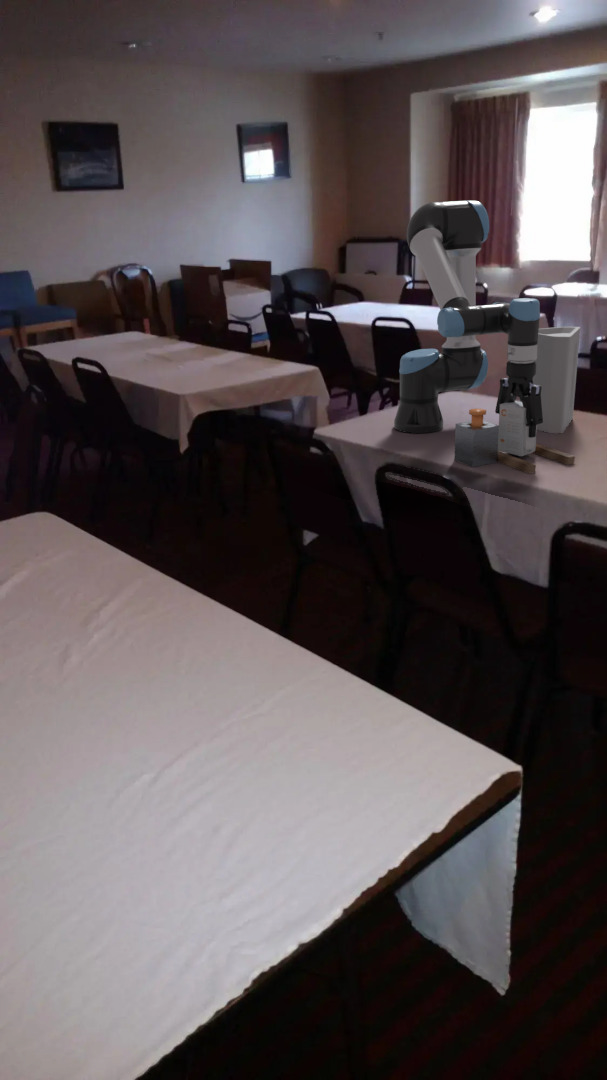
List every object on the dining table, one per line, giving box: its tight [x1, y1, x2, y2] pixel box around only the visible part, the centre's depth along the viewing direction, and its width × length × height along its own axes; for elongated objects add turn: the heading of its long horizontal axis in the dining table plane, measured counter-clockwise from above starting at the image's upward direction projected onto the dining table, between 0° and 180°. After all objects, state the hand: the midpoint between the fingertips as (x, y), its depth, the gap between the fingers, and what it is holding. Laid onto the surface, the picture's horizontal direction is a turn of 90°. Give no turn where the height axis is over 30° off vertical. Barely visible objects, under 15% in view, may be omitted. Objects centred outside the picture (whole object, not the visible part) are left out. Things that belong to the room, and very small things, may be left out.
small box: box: [498, 400, 538, 457], centre depth 216 cm, size 8×6×13 cm
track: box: [497, 442, 575, 474], centre depth 215 cm, size 20×15×2 cm
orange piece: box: [468, 408, 487, 427], centre depth 212 cm, size 4×4×7 cm
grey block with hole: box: [454, 420, 499, 468], centre depth 214 cm, size 8×8×10 cm
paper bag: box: [518, 326, 581, 434], centre depth 242 cm, size 19×15×28 cm
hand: (516, 444), depth 217 cm, fingers closed on small box, 9 cm apart
